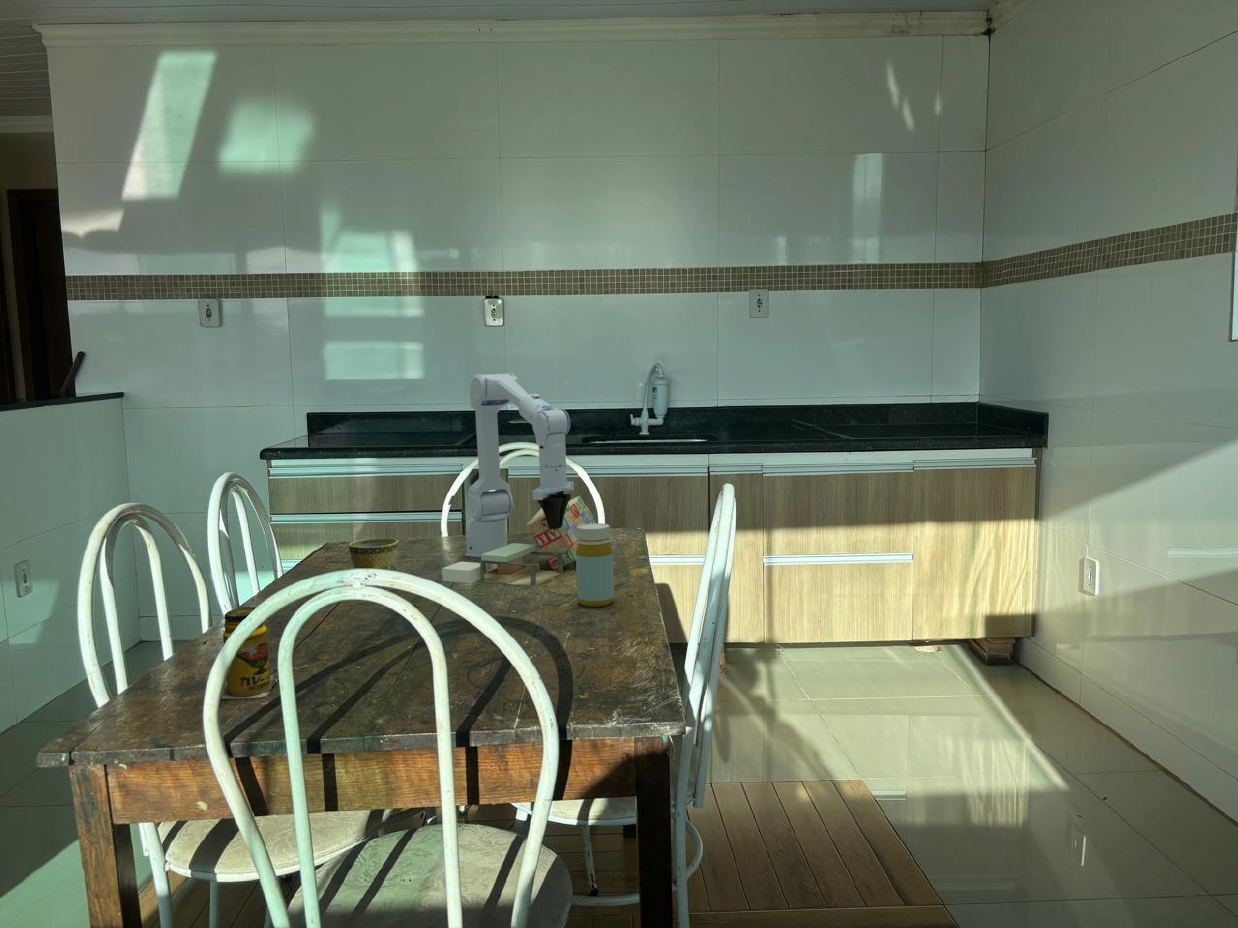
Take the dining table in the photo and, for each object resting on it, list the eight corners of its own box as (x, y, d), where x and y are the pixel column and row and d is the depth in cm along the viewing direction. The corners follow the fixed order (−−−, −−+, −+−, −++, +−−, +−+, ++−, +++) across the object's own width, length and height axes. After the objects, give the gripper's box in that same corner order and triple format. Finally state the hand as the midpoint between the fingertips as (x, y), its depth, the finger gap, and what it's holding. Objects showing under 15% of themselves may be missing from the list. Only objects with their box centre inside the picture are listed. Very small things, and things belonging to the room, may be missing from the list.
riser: (442, 582, 202) (441, 568, 202) (461, 574, 208) (460, 561, 208) (469, 584, 199) (469, 570, 199) (488, 577, 205) (487, 563, 205)
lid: (481, 560, 200) (481, 554, 200) (513, 548, 212) (512, 543, 212) (506, 562, 198) (505, 556, 198) (536, 550, 209) (536, 544, 209)
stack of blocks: (578, 538, 229) (553, 494, 227) (600, 527, 227) (574, 483, 225) (553, 571, 209) (525, 524, 207) (576, 560, 207) (548, 512, 205)
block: (497, 576, 204) (497, 558, 204) (507, 572, 208) (507, 554, 207) (513, 578, 203) (512, 559, 202) (523, 573, 206) (522, 556, 206)
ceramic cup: (407, 590, 196) (404, 542, 195) (359, 597, 191) (356, 549, 190) (387, 578, 207) (384, 533, 206) (341, 585, 202) (338, 539, 201)
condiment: (266, 697, 136) (259, 616, 134) (205, 700, 135) (198, 619, 134) (280, 680, 143) (274, 602, 141) (222, 683, 142) (216, 605, 141)
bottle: (604, 596, 186) (602, 521, 185) (620, 604, 180) (617, 526, 178) (572, 601, 183) (569, 525, 182) (586, 609, 177) (583, 530, 175)
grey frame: (479, 582, 201) (478, 561, 201) (512, 568, 213) (511, 548, 212) (533, 587, 195) (532, 565, 195) (564, 573, 207) (563, 552, 206)
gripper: (552, 470, 194) (554, 535, 196) (585, 462, 207) (587, 523, 209) (522, 469, 197) (525, 533, 199) (557, 461, 210) (559, 521, 212)
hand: (555, 528), depth 204 cm, fingers closed
